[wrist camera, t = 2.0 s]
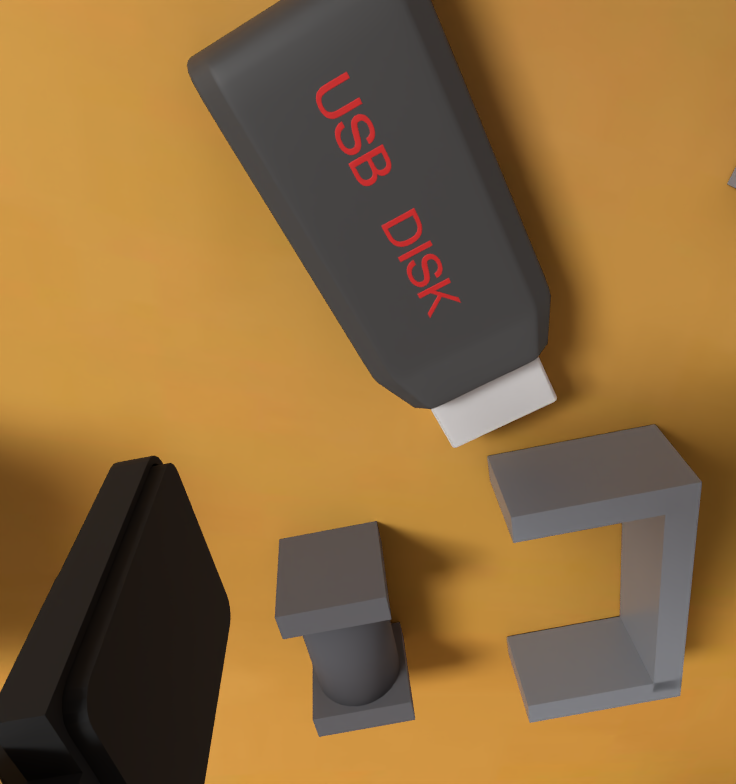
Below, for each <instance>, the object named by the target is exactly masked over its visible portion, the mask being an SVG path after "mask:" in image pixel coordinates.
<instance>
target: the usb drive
mask: <svg viewBox="0 0 736 784" xmlns="http://www.w3.org/2000/svg"><path fill="white" fill-rule="evenodd" d="M187 67H188V73H189V75H190V77H191V80H192V82H193V84H194V86H195V88H196V89H197V91H198V93H199V95H200V97H201V98H202V100H203V102H204V104H205V105H206V107H207V109H208V110H209V112H210V113H211V115H212V117H213V118H214V120H215V122H216V123H217V125H218V127H219V128H220V130H221V132H222V133H223V135H224V137H225V138H226V140H227V141H228V143H229V145H230V146H231V148H232V150H233V151H234V153H235V154H236V156H237V158H238V159H239V161H240V163H241V164H242V166H243V167H244V169H245V171H246V172H247V174H248V176H249V177H250V179H251V180H252V182H253V184H254V185H255V187H256V189H257V190H258V192H259V193H260V195H261V197H262V198H263V200H264V202H265V203H266V205H267V206H268V208H269V210H270V211H271V213H272V215H273V216H274V218H275V219H276V221H277V223H278V224H279V226H280V228H281V229H282V231H283V233H284V234H285V236H286V237H287V239H288V241H289V242H290V244H291V246H292V247H293V249H294V250H295V252H296V254H297V255H298V257H299V259H300V260H301V262H302V263H303V265H304V267H305V268H306V270H307V272H308V273H309V275H310V276H311V278H312V280H313V281H314V283H315V285H316V286H317V288H318V289H319V291H320V293H321V294H322V296H323V298H324V299H325V301H326V302H327V304H328V306H329V307H330V309H331V311H332V312H333V314H334V316H335V317H336V319H337V320H338V322H339V324H340V325H341V327H342V329H343V330H344V332H345V333H346V335H347V337H348V338H349V340H350V342H351V343H352V345H353V346H354V348H355V350H356V351H357V353H358V355H359V356H360V358H361V359H362V361H363V363H364V364H365V366H366V367H367V369H368V371H369V372H370V374H371V375H372V377H373V378H374V379H375V380H376V381H377V382H378V383H379V384H380V385H382V386H383V387H385V388H386V389H388V390H389V391H391V392H392V393H394V394H395V395H397V396H398V397H400V398H401V399H402V400H404V401H405V402H407V403H408V404H410V405H411V406H413V407H415V408H425V409H431V410H432V412H433V414H434V416H435V417H436V419H437V421H438V423H439V424H440V426H441V428H442V429H443V431H444V433H445V435H446V436H447V438H448V440H449V442H450V443H451V445H452V447H458V446H460V445H463V444H465V443H467V442H469V441H471V440H473V439H475V438H478V437H480V436H482V435H484V434H486V433H488V432H490V431H493V430H495V429H497V428H499V427H501V426H503V425H505V424H508V423H510V422H512V421H514V420H516V419H518V418H521V417H523V416H525V415H527V414H529V413H531V412H533V411H536V410H538V409H540V408H542V407H544V406H546V405H548V404H551V403H553V402H555V401H556V400H557V396H556V394H555V392H554V390H553V387H552V385H551V383H550V381H549V379H548V376H547V374H546V372H545V370H544V367H543V365H542V363H541V361H540V358H539V355H540V353H541V352H542V350H543V349H544V348H545V346H546V345H547V343H548V330H549V315H550V298H551V295H550V291H549V287H548V284H547V282H546V279H545V276H544V274H543V271H542V269H541V267H540V264H539V262H538V259H537V257H536V254H535V252H534V250H533V247H532V245H531V242H530V240H529V237H528V235H527V233H526V230H525V228H524V225H523V223H522V220H521V218H520V216H519V213H518V211H517V208H516V206H515V203H514V201H513V198H512V196H511V194H510V191H509V189H508V186H507V184H506V181H505V179H504V177H503V174H502V172H501V169H500V167H499V164H498V162H497V160H496V157H495V155H494V152H493V150H492V147H491V145H490V143H489V140H488V138H487V135H486V133H485V130H484V128H483V125H482V123H481V121H480V118H479V116H478V113H477V111H476V108H475V106H474V104H473V101H472V99H471V96H470V94H469V91H468V89H467V87H466V84H465V82H464V79H463V77H462V74H461V72H460V70H459V67H458V65H457V62H456V60H455V57H454V55H453V53H452V50H451V48H450V45H449V43H448V40H447V38H446V35H445V33H444V31H443V28H442V26H441V23H440V21H439V18H438V16H437V14H436V11H435V9H434V6H433V4H432V1H431V0H280V1H279V2H277V3H276V4H274V5H272V6H271V7H269V8H268V9H266V10H265V11H263V12H261V13H260V14H258V15H257V16H255V17H254V18H252V19H250V20H249V21H247V22H246V23H244V24H242V25H241V26H239V27H238V28H236V29H235V30H233V31H231V32H230V33H228V34H227V35H225V36H224V37H222V38H220V39H219V40H217V41H216V42H214V43H212V44H211V45H209V46H208V47H206V48H205V49H203V50H201V51H200V52H198V53H197V54H195V55H194V56H192V57H191V58H190V59H189V60H188V64H187Z"/></svg>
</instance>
